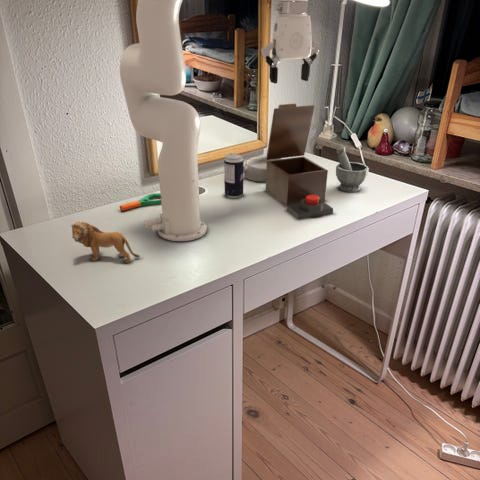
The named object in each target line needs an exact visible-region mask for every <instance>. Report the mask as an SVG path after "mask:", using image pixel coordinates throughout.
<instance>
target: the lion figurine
mask: <svg viewBox="0 0 480 480" xmlns="http://www.w3.org/2000/svg"><path fill="white" fill-rule="evenodd" d="M70 226H71V233H72V234H71V235H72V236H71V237H72V239H73V240H74V242H75V243H79V244H81V245H83V247H85V248H90V250H91V252H92V254H93V257H91V260H92V261H93V262H95V261H98V259H99V255H100V248H105V249H107V248H111V247H114V248H115V249H116V252H118V257H125V259H124V263H126V264H129V263H130V262H131V256H133V257H134V258H140V255H139V254H137V253H134V252H133V250H132V247H131V246H130V244H129V241H128V240H127V238H126V237H125V235H124V234H122V233H121V232H119V231H112V232H106V231H101V230H100V229H99V228H98V227H96V226H94V225H93V224H90V223H88V222H85V221H76V222H74V223H73V224H71V225H70ZM125 245H126V248H127V249H128V251H129V253H130V254H131V256H130V254H129V253H128V251H126V249H125Z"/></svg>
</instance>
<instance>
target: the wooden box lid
mask: <svg viewBox="0 0 480 480" xmlns="http://www.w3.org/2000/svg"><path fill="white" fill-rule="evenodd" d="M315 109H316V105H314V104H313V105H311V104H309V105H299V106H297V104H296V103H284V104H278V107H276V108H273V113H272V119H271V126H270V132H269V139H268V145H267V151H266V156H267V157H266V159H267V160H271V159H279V158H282V159H287V158H295V157H303V156H304V157H305V154H306V149H307V146H308V145H307V144H308V141H309V135H310V132H311V131H310V130H311V127H312V121H313V117H314V113H315Z"/></svg>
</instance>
